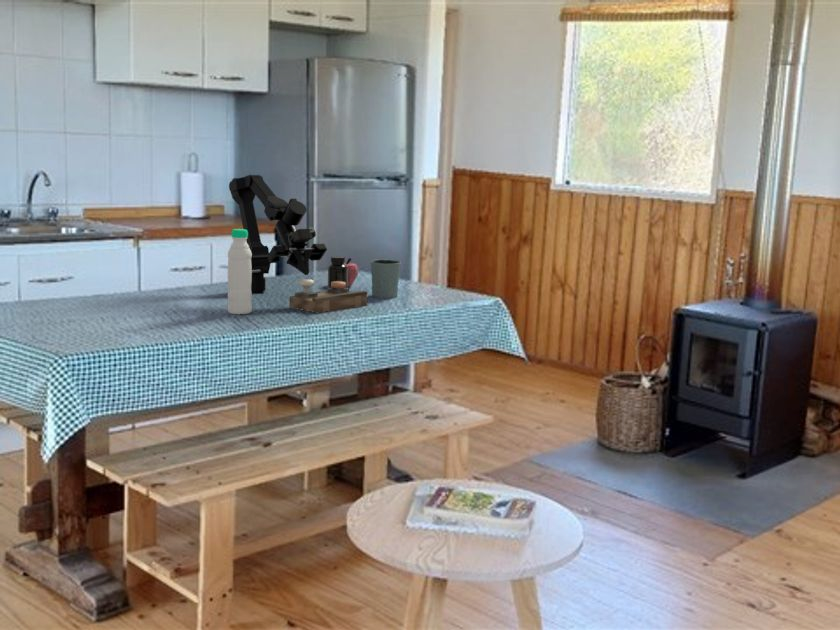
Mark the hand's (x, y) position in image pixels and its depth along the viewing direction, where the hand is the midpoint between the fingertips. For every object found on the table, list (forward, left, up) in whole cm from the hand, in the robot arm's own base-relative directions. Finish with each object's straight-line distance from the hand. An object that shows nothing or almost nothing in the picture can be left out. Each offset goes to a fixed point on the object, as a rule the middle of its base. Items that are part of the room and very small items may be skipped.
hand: (307, 274), depth 304 cm
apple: (+12, +44, -11) cm, 47 cm away
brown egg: (+10, +10, -10) cm, 17 cm away
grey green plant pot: (+25, +24, -11) cm, 37 cm away
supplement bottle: (+9, +32, -11) cm, 35 cm away
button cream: (0, 0, -8) cm, 8 cm away
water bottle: (-20, -11, -11) cm, 25 cm away
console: (+7, +3, -10) cm, 13 cm away
